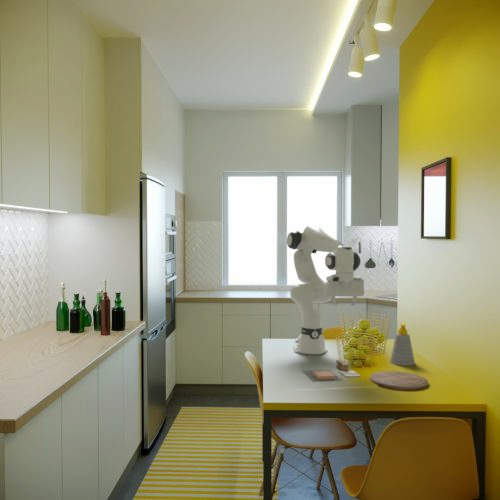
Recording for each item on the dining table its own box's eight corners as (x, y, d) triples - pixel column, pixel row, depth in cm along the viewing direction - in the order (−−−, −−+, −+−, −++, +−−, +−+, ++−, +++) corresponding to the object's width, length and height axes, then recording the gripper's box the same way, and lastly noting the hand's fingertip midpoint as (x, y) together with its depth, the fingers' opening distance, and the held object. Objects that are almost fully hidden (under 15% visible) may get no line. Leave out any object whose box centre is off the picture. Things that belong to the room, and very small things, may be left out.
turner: (332, 368, 240) (332, 360, 239) (345, 367, 241) (345, 359, 241) (346, 378, 222) (346, 369, 222) (360, 377, 223) (360, 369, 223)
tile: (312, 371, 224) (318, 376, 216) (329, 370, 226) (335, 375, 218) (312, 375, 224) (318, 380, 216) (329, 374, 226) (335, 379, 218)
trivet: (359, 377, 224) (359, 373, 224) (403, 373, 233) (403, 369, 233) (393, 393, 201) (393, 389, 201) (440, 388, 210) (440, 383, 210)
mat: (301, 372, 231) (301, 371, 231) (329, 370, 234) (329, 369, 234) (313, 382, 214) (313, 381, 214) (343, 381, 216) (343, 380, 216)
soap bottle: (389, 364, 248) (390, 325, 248) (390, 359, 260) (391, 321, 260) (414, 366, 244) (415, 326, 244) (414, 361, 256) (415, 323, 256)
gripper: (361, 277, 247) (360, 304, 247) (323, 277, 243) (323, 304, 243) (366, 278, 241) (366, 305, 241) (327, 278, 237) (327, 306, 237)
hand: (344, 305), depth 242 cm, fingers open, 8 cm apart
